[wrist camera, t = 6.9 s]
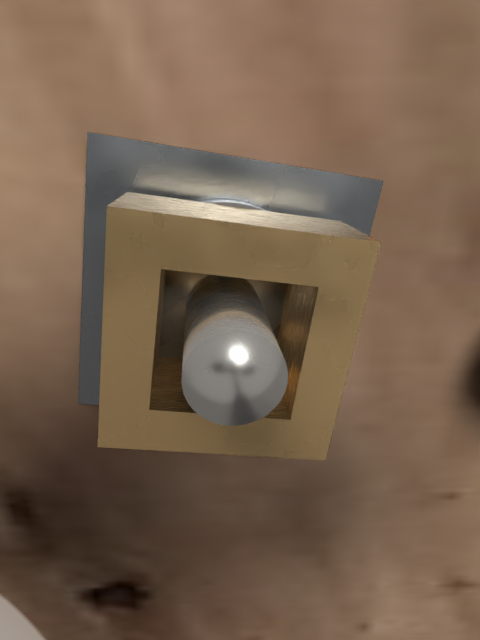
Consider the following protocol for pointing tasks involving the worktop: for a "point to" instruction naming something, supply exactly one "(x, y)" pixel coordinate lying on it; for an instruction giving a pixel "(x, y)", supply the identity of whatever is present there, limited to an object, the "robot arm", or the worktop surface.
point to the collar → (240, 262)
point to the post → (203, 289)
